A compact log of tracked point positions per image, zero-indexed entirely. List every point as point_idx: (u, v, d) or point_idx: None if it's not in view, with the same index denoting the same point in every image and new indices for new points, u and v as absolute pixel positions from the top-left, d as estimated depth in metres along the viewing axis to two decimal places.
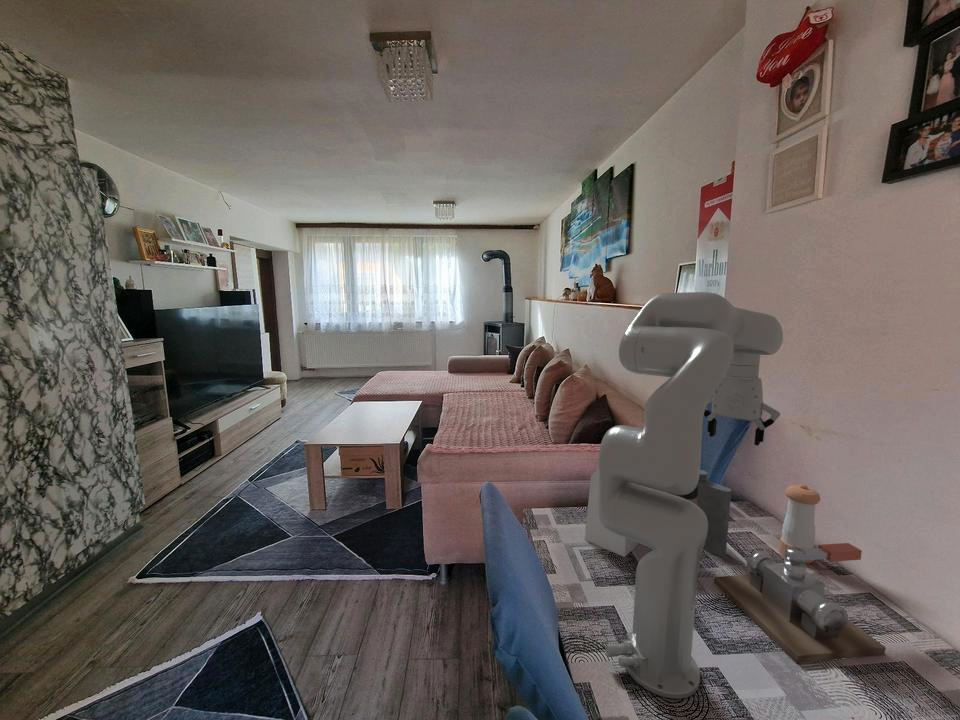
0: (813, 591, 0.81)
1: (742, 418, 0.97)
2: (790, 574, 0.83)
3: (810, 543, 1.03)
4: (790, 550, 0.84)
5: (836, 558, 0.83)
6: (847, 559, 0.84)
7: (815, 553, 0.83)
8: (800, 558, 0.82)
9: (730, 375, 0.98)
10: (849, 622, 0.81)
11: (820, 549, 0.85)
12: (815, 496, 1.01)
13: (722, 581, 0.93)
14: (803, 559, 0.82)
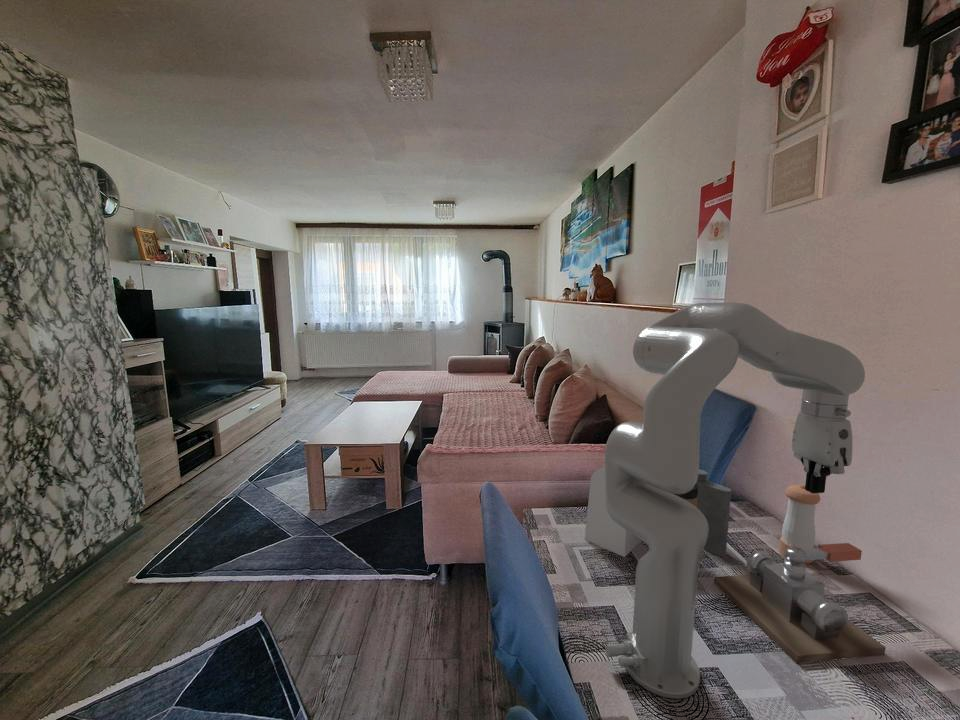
0: (813, 591, 0.81)
1: None
2: (790, 574, 0.83)
3: (810, 543, 1.03)
4: (790, 550, 0.84)
5: (836, 558, 0.83)
6: (847, 559, 0.84)
7: (815, 553, 0.83)
8: (800, 558, 0.82)
9: None
10: (849, 622, 0.81)
11: (820, 549, 0.85)
12: (815, 496, 1.01)
13: (722, 581, 0.93)
14: (803, 559, 0.82)
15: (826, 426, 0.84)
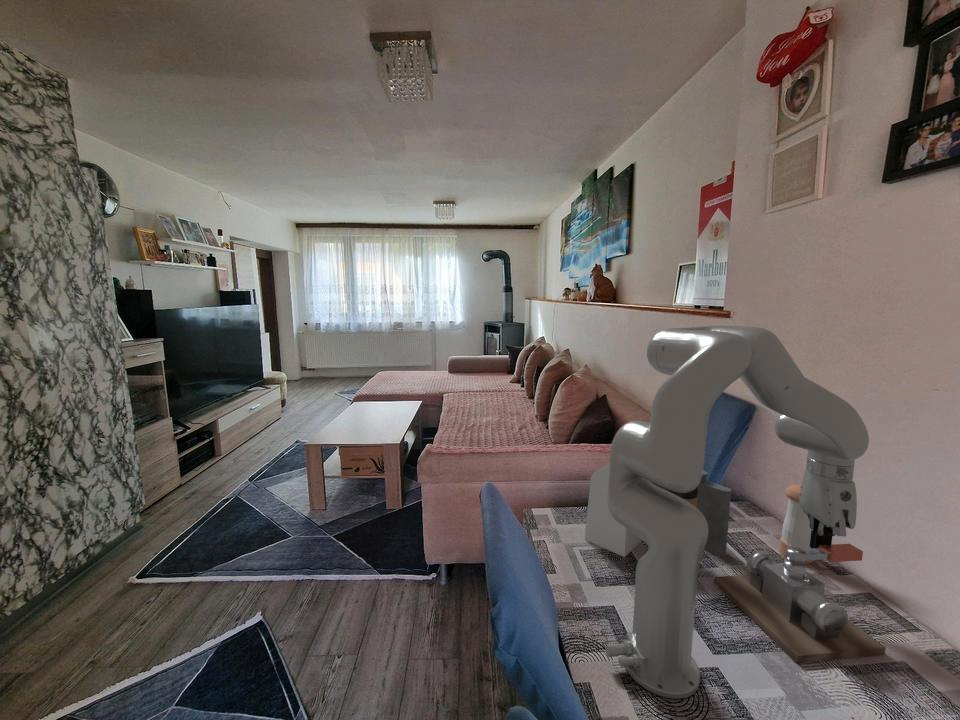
0: (813, 591, 0.81)
1: None
2: (790, 574, 0.83)
3: None
4: (790, 550, 0.84)
5: (837, 559, 0.83)
6: (848, 560, 0.83)
7: (815, 553, 0.83)
8: (800, 558, 0.82)
9: None
10: (849, 622, 0.81)
11: (821, 549, 0.85)
12: None
13: (722, 581, 0.93)
14: (803, 559, 0.82)
15: (827, 486, 0.83)
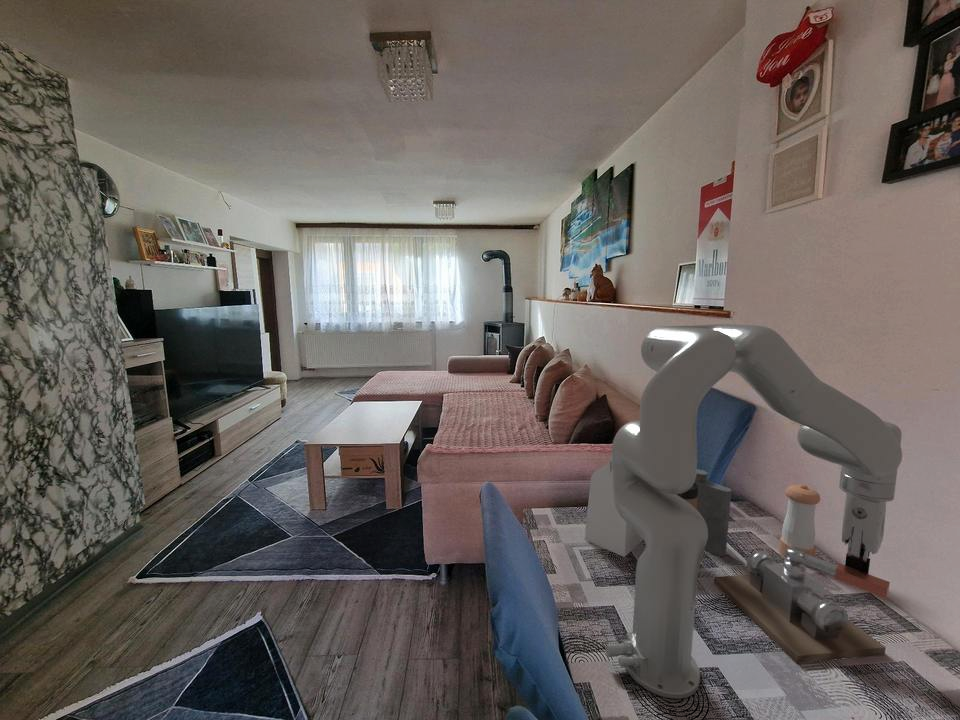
0: (813, 591, 0.81)
1: (881, 542, 0.77)
2: (790, 574, 0.83)
3: (810, 543, 1.03)
4: (790, 548, 0.85)
5: (844, 579, 0.77)
6: (862, 588, 0.75)
7: (817, 562, 0.80)
8: (790, 555, 0.83)
9: (891, 497, 0.73)
10: (849, 622, 0.81)
11: (834, 565, 0.79)
12: (815, 496, 1.01)
13: (722, 581, 0.93)
14: (795, 558, 0.83)
15: None
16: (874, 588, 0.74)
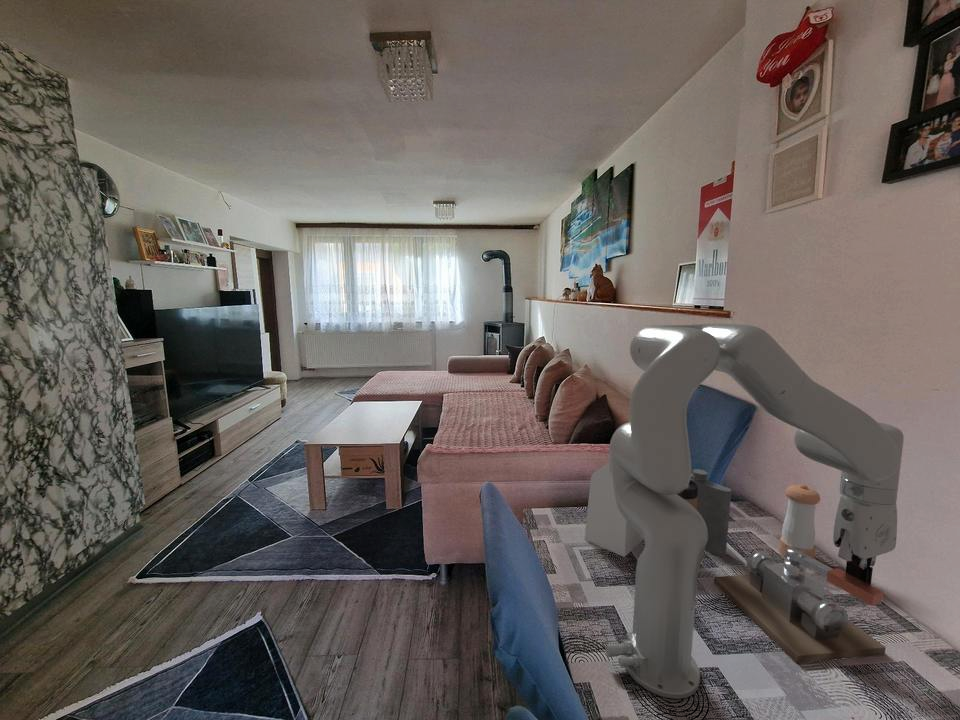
0: (813, 591, 0.81)
1: (886, 552, 0.74)
2: (790, 574, 0.83)
3: (810, 543, 1.03)
4: (791, 547, 0.85)
5: (834, 582, 0.76)
6: (851, 593, 0.74)
7: (813, 563, 0.80)
8: (788, 554, 0.84)
9: (886, 503, 0.71)
10: (849, 622, 0.81)
11: (830, 569, 0.78)
12: (815, 496, 1.01)
13: (722, 581, 0.93)
14: (791, 557, 0.83)
15: None
16: (861, 594, 0.72)
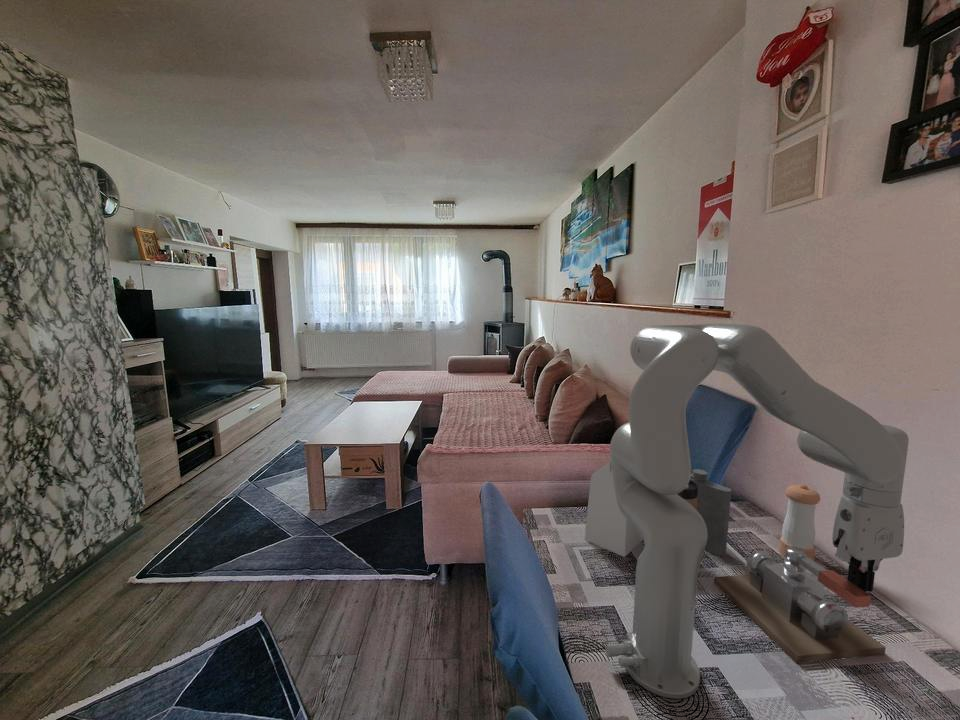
0: (813, 591, 0.81)
1: (889, 557, 0.72)
2: (790, 574, 0.83)
3: (810, 543, 1.03)
4: (793, 547, 0.85)
5: (824, 582, 0.76)
6: (838, 593, 0.73)
7: (808, 563, 0.80)
8: (787, 552, 0.84)
9: (886, 506, 0.70)
10: (849, 622, 0.81)
11: (825, 570, 0.78)
12: (815, 496, 1.01)
13: (722, 581, 0.93)
14: (789, 556, 0.83)
15: None
16: (846, 595, 0.72)
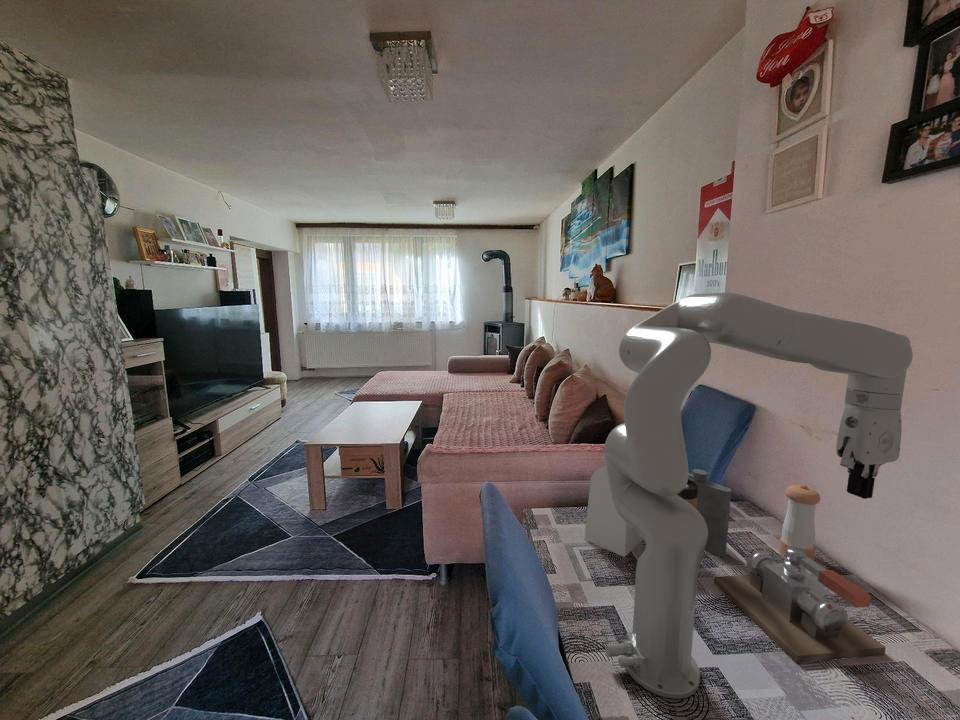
0: (813, 591, 0.81)
1: (888, 461, 0.74)
2: (790, 574, 0.83)
3: (810, 543, 1.03)
4: (793, 547, 0.85)
5: (824, 582, 0.76)
6: (838, 593, 0.73)
7: (808, 563, 0.80)
8: (787, 552, 0.84)
9: (891, 408, 0.72)
10: (849, 622, 0.81)
11: (825, 570, 0.78)
12: (815, 496, 1.01)
13: (722, 581, 0.93)
14: (789, 556, 0.83)
15: None
16: (846, 595, 0.72)
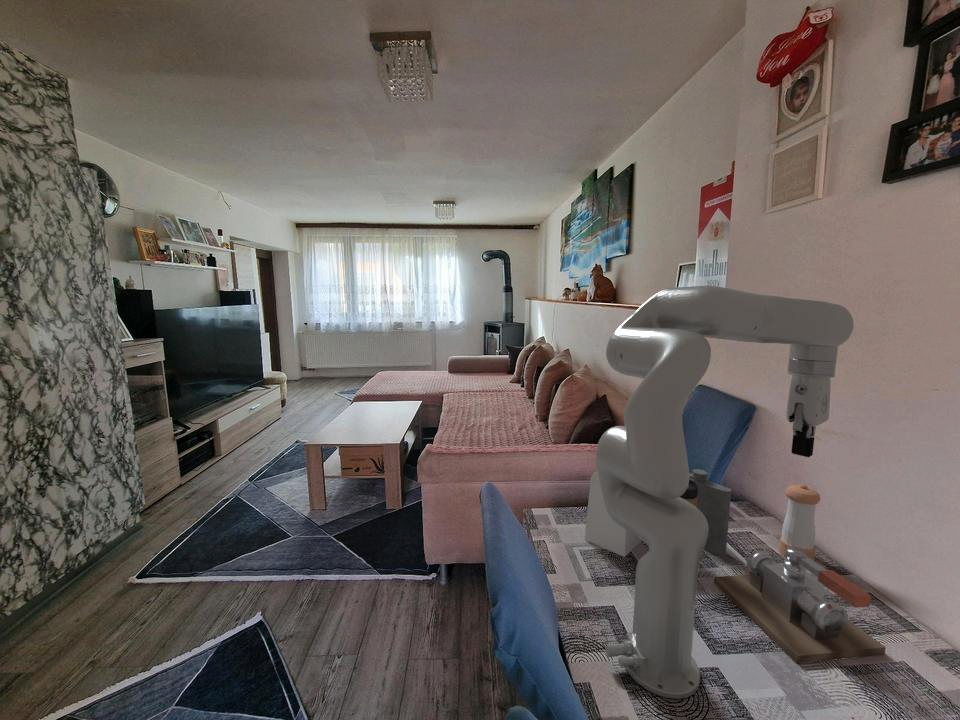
0: (813, 591, 0.81)
1: (824, 421, 0.84)
2: (790, 574, 0.83)
3: (810, 543, 1.03)
4: (793, 547, 0.85)
5: (824, 582, 0.76)
6: (838, 593, 0.73)
7: (808, 563, 0.80)
8: (787, 552, 0.84)
9: (830, 374, 0.80)
10: (849, 622, 0.81)
11: (825, 570, 0.78)
12: (815, 496, 1.01)
13: (722, 581, 0.93)
14: (789, 556, 0.83)
15: (791, 380, 0.84)
16: (846, 595, 0.72)
